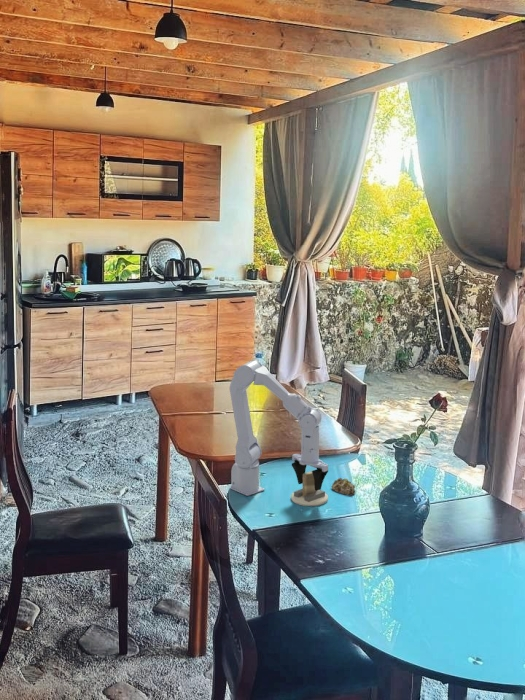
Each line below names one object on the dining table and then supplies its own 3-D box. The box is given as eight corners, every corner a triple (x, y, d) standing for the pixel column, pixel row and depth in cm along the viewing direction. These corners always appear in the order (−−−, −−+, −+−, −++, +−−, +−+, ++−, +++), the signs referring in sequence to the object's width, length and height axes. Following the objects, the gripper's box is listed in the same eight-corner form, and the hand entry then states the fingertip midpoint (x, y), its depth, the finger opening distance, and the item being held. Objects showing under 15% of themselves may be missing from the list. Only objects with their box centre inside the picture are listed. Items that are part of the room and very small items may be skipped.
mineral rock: (325, 480, 250) (346, 471, 252) (328, 491, 251) (348, 482, 253) (339, 492, 240) (360, 483, 242) (342, 503, 241) (363, 494, 244)
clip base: (283, 498, 240) (283, 491, 239) (309, 488, 247) (309, 482, 247) (309, 509, 231) (309, 501, 230) (335, 499, 239) (335, 492, 238)
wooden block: (302, 497, 238) (302, 473, 236) (313, 493, 241) (313, 470, 240) (305, 498, 237) (306, 475, 235) (316, 494, 240) (317, 471, 238)
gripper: (285, 444, 238) (285, 483, 241) (317, 455, 228) (317, 496, 230) (300, 439, 243) (300, 478, 246) (333, 450, 232) (332, 490, 235)
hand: (309, 486), depth 238 cm, fingers open, 7 cm apart
